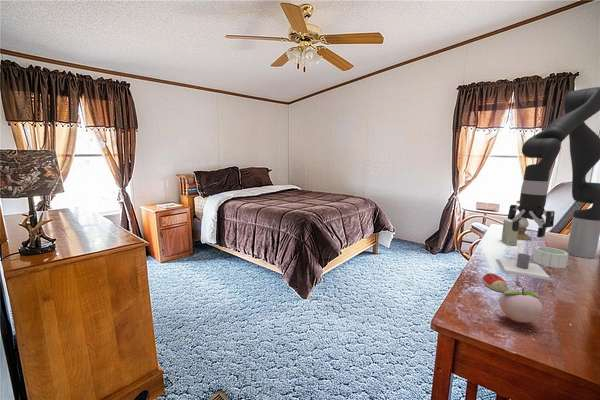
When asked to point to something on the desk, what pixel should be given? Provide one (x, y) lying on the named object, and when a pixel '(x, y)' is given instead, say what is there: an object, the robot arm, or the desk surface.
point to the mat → (519, 274)
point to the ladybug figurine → (495, 282)
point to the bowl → (550, 257)
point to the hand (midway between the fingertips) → (527, 234)
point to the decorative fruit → (521, 305)
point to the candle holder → (523, 228)
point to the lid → (523, 267)
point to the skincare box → (509, 233)
